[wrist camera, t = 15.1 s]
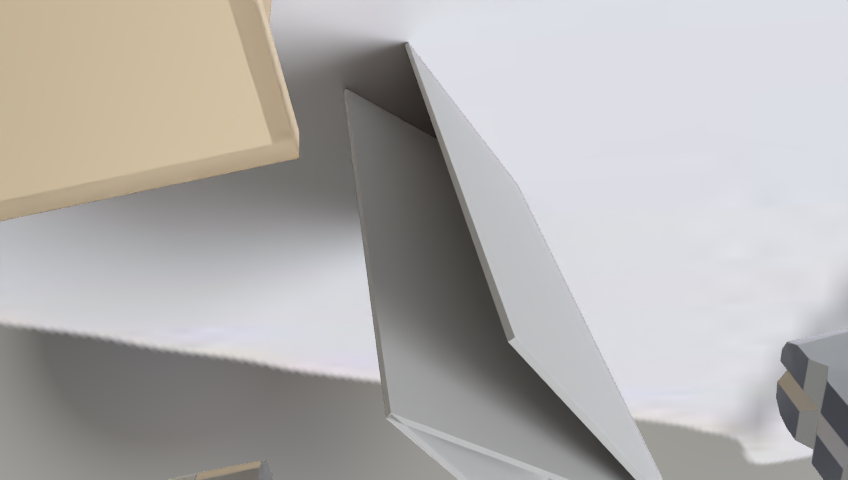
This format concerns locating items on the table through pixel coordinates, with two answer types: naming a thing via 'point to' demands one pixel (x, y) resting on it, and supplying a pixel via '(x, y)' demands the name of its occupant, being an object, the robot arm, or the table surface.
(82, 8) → the lid
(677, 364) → the table surface
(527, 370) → the brochure
